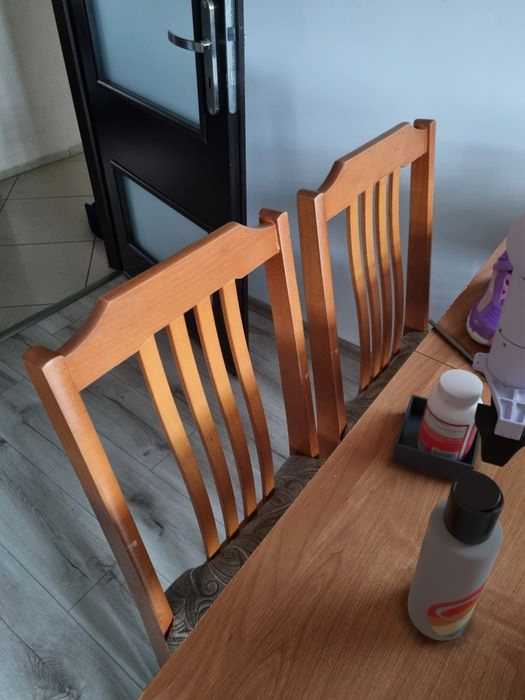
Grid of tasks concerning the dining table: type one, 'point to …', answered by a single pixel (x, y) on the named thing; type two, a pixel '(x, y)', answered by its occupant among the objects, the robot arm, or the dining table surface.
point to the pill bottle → (451, 415)
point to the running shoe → (490, 303)
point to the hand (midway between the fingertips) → (497, 434)
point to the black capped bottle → (456, 556)
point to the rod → (451, 340)
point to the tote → (421, 460)
